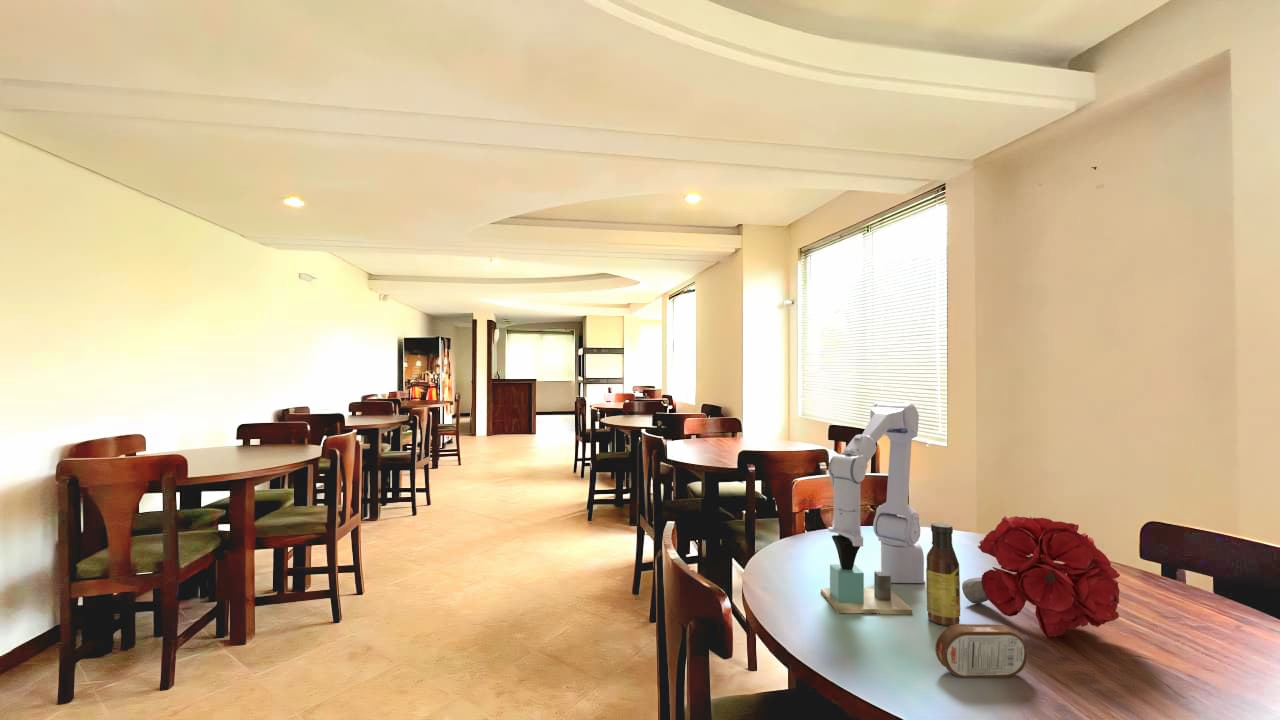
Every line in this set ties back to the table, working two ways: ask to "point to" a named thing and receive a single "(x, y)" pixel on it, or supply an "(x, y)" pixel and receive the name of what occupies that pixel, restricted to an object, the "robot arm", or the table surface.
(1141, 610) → the table surface
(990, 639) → the tin
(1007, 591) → the bouquet
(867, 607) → the birch board
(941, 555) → the sauce bottle
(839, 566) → the pale aqua cube
